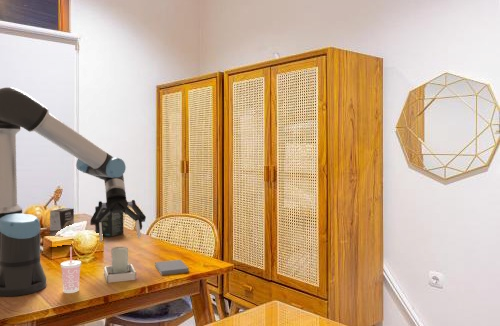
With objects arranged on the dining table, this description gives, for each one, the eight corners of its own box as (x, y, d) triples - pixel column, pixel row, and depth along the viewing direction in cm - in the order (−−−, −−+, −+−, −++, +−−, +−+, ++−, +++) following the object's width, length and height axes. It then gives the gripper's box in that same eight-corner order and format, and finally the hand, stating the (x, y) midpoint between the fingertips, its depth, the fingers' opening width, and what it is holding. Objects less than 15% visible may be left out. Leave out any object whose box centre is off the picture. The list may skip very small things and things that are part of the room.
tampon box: (123, 234, 216) (123, 205, 216) (109, 237, 208) (109, 208, 208) (109, 231, 222) (109, 204, 221) (94, 234, 214) (94, 206, 214)
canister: (112, 279, 146) (112, 251, 145) (110, 275, 151) (110, 247, 150) (129, 277, 148) (129, 249, 147) (126, 273, 153) (126, 246, 152)
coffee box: (62, 247, 189) (61, 211, 188) (49, 246, 190) (49, 210, 189) (74, 242, 197) (74, 208, 197) (62, 241, 199) (62, 207, 198)
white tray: (107, 282, 142) (107, 275, 142) (104, 273, 152) (104, 266, 152) (136, 279, 146) (136, 272, 146) (131, 270, 156) (131, 263, 156)
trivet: (161, 275, 151) (161, 271, 151) (155, 266, 162) (155, 262, 162) (188, 272, 155) (188, 268, 155) (180, 263, 166) (180, 259, 166)
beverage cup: (58, 294, 131) (58, 250, 130) (63, 287, 137) (63, 245, 136) (79, 293, 132) (79, 249, 131) (83, 286, 138) (83, 244, 137)
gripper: (145, 197, 177) (152, 240, 164) (82, 199, 166) (84, 246, 154) (148, 185, 171) (155, 229, 159) (82, 187, 161) (84, 235, 148)
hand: (120, 238), depth 156 cm, fingers open, 13 cm apart
